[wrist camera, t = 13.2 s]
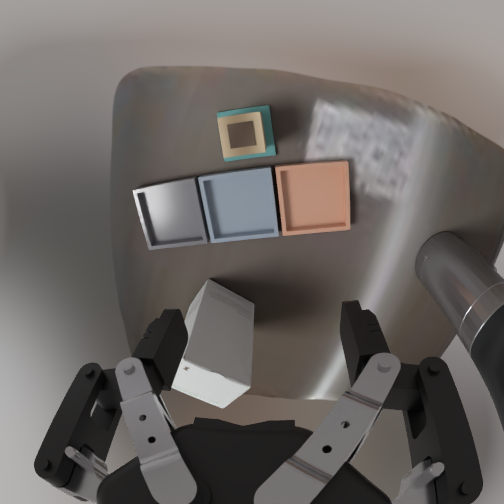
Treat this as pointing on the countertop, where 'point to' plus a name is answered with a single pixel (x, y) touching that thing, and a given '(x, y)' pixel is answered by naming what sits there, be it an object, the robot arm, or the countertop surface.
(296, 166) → the dish terracotta
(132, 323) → the countertop surface
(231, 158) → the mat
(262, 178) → the dish slate
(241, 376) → the skincare box
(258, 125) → the letter block
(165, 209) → the dish charcoal
